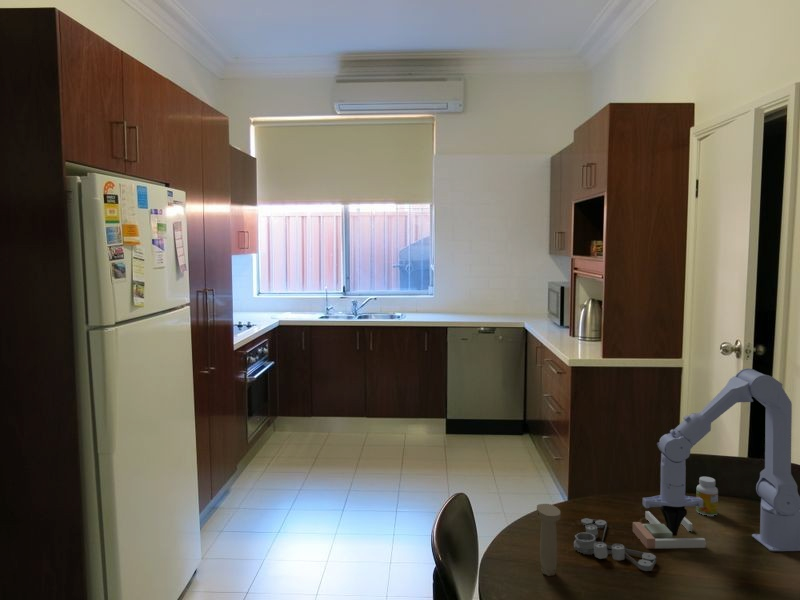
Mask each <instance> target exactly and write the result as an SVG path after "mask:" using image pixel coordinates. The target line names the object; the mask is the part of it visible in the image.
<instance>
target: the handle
mask: <svg viewBox="0 0 800 600" xmlns="http://www.w3.org/2000/svg"><path fill="white" fill-rule="evenodd" d="M536 515H537V517H538V518H539V519H540V520H541V521H540V535H539V537H540V538H539V539H540V541H539V558H540V559H539V560H540V561H539V562H540V566H541V568H540V569H541V573H542V574H543V575H546V576H547V577H551V576H555V575H556V569H557V563H558V540H557V539H558V538H557V522H559V520H561V510H560V509H559V508H558V507H557V506H555V505H553V504H551V503H540V504H537V505H536Z"/></svg>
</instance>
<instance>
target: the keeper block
mask: <svg viewBox="0 0 800 600" xmlns="http://www.w3.org/2000/svg"><path fill="white" fill-rule="evenodd" d="M643 524H644V527H645V528H646V529H647V530H648V531H649V532H650V533H651V535H652V536H653V537H654V538H655V539H664V538H673V536H672V532H671V531H670V530H669V529H668V528H667V525H665V523H661V524H650V523H643Z"/></svg>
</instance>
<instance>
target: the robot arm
mask: <svg viewBox="0 0 800 600" xmlns="http://www.w3.org/2000/svg"><path fill="white" fill-rule="evenodd" d="M752 397H753V398H754V399H755V400H756V401H758V403H760V404H761V405H762V406H764V408H765V416H764V417H765V428H764V429H765V430H764V431H765V432H764V434H765V437H764V440H765V441H764V442H765V443H764V469H762V470H761V471H760V472H759V479H758V481H757V482H756V486H755V491H756V494H757V495H758V497H760V518H759V519H760V522H759V533H753V534H751V537H752V538H754V539H755V540H756V541H757V542H759V543H760V544H761V545H762V546H763V547H765V548H766V549H768V551H770V552H800V494H799V492H798V484H797V482H796V481H795V479H794V477H793V475H792V418H793V417H792V415H793V414H792V413H793V412H792V411H793V410H792V408H793V405H792V404H793V403H792V401H791V399H790V397H789V396H788V394H787V393H786V391H785V389H784V388H783V383H782V382H780V381H779V380H778V379H776V378H775V377H773V376H771V375H768V374H764V373H762V372H759V371H757V370H755V369H753V368H743V369H740V370H738V372H737V373H736V374H735V375H734V376H731V378H729V380H728V381H727V383H726V385H725V386H724V387H723V388H722V389H721V390H720V391H719V392H718V394H717V395H715V396H714V398H712V400H710V401H709V403H708V404H707V405H705V407H704V408H703V409H702V410H701V411H700V412H696V413H690V414H689V415H688V414H686V415H684V417H682V418H683V420H682V421H681V423H680V424H678V425H677V426H676V427H675V428H672V429H670V430H669V433H665V434H663V435H662V436H661V437H660V438H659V442H657V443H656V445H657V448H658V450H659V451H660V452H661V453H660V492H659V493H660V494H659V495H654V496H649V497H642V506H643V507H644V508H645V509H650V508H659V509H660V511H661V514H662V515H663V518H664V521H665V524H666V525H665V526H666V527H667V528H668V529H669V530H670V531H671V532H672V537H675V536H677V534H678V531H679V529H680V526H681V522H682V520H683V518H684V517H685V518H686V516H687V514H688V509H686V507H696V506H698V507H703V500H702V499H701V498H700V497H696V496H689V495H686V479H687V478H686V470H687V469H686V468H687V467H686V460H687V459H689V457H690V455H691V450H692V449H693V447H694V446H695V445H696V444H697V443H699V442H700V441H701V440H702V439H703V438H704V437H706V436H707V435H708V434H709V432H711V429H712V423H713V422H715V420H717V419H718V418H720V417H721V416H722V415H723V414H724V413H725V412H727V411H728V410H730V409H731V408H732V407H733V406H734V405H735V404H737V403H753V402H754V399H753V398H752Z"/></svg>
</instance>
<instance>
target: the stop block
mask: <svg viewBox="0 0 800 600" xmlns="http://www.w3.org/2000/svg"><path fill="white" fill-rule="evenodd" d="M642 524H643V523H642V522H641V521H632V532H633V534H635V536H636V537H637V539H638V540H639V539H640V540H639V541H640V542H641V543H642V545H643V546H644V547H645V548H646V549H656V548H655V538H654V537H653V536H652V535H651V533H650V532H649V531H648V530H647V529H646V528H645V527H644V526H643V525H642Z"/></svg>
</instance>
